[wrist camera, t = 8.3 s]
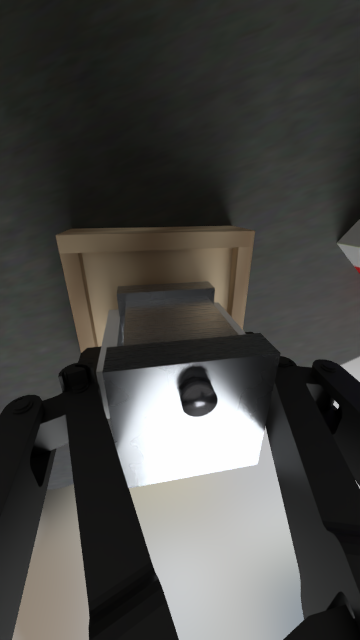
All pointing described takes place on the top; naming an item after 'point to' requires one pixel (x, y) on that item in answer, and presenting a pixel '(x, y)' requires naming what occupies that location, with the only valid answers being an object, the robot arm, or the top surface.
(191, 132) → the top surface
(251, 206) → the top surface
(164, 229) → the tray
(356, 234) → the puzzle toy
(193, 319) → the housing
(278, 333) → the top surface
